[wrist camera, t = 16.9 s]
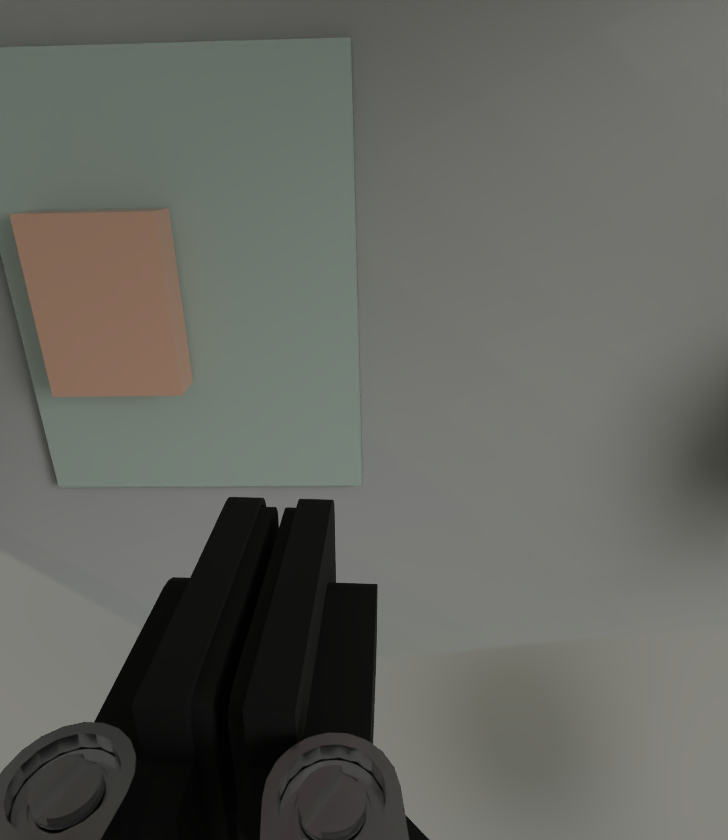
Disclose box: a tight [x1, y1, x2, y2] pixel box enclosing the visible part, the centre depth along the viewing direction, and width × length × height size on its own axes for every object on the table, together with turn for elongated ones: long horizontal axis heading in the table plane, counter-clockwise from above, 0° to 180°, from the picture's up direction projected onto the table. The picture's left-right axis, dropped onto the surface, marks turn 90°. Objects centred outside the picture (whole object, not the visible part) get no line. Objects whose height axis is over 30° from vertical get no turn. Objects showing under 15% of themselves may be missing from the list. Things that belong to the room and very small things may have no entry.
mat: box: [0, 37, 362, 487], centre depth 29 cm, size 20×16×1 cm
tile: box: [9, 208, 193, 397], centre depth 27 cm, size 8×2×6 cm
